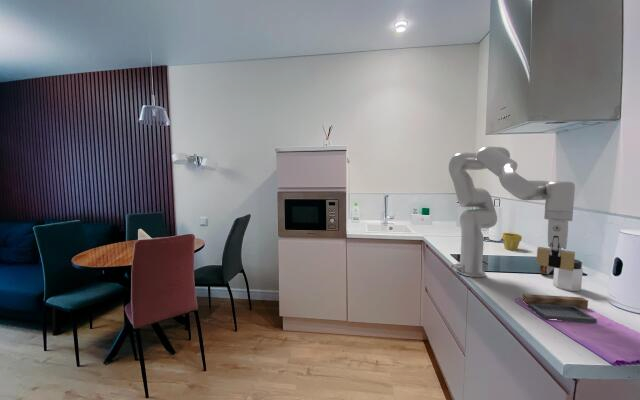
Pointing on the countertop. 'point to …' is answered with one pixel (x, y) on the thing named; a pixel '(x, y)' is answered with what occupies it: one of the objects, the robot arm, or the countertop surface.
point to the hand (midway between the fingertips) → (554, 264)
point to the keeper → (562, 313)
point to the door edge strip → (556, 300)
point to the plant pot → (511, 240)
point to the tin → (545, 270)
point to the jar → (569, 277)
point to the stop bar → (566, 256)
